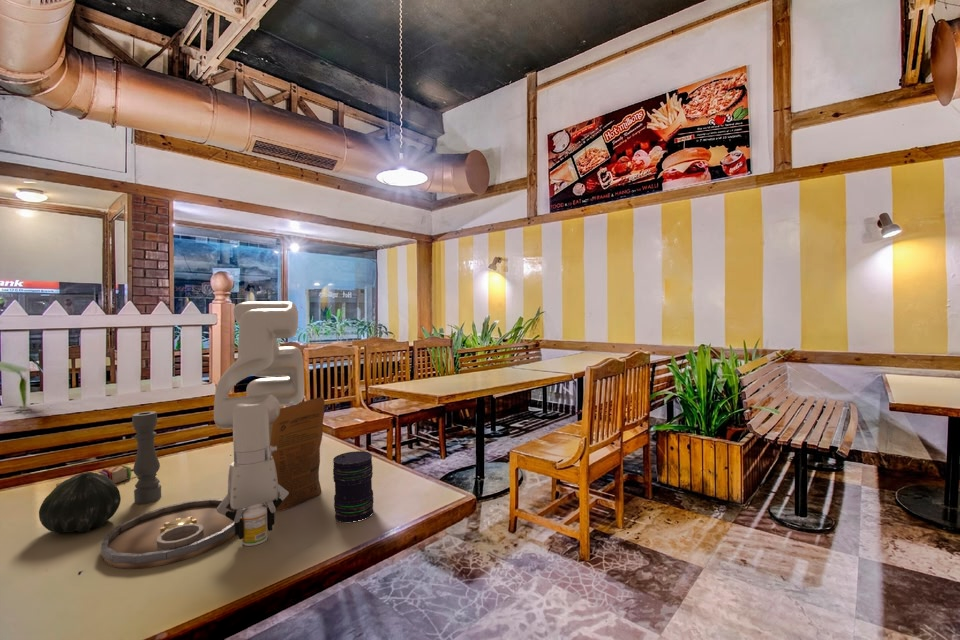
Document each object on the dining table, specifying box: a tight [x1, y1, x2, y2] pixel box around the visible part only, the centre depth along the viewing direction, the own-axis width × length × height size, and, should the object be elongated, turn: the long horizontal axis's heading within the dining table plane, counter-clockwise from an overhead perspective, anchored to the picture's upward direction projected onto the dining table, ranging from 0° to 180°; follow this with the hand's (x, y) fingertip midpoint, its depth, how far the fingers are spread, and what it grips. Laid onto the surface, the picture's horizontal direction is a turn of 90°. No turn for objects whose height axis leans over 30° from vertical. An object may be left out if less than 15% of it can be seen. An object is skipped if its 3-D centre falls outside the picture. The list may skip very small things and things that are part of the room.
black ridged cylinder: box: [332, 450, 375, 523], centre depth 114 cm, size 10×10×15 cm
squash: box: [38, 471, 122, 534], centre depth 111 cm, size 14×15×15 cm
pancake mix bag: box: [270, 396, 325, 511], centre depth 123 cm, size 7×19×28 cm, turn 148°
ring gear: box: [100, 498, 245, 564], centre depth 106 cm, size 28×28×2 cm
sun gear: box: [160, 517, 197, 534], centre depth 106 cm, size 7×7×2 cm
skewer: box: [55, 465, 134, 488], centre depth 139 cm, size 21×6×5 cm, turn 151°
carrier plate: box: [102, 506, 236, 570], centre depth 106 cm, size 28×28×4 cm
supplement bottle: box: [241, 503, 269, 547], centre depth 102 cm, size 5×5×10 cm
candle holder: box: [131, 410, 162, 505], centre depth 127 cm, size 6×6×25 cm
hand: (255, 531), depth 102 cm, fingers closed on supplement bottle, 5 cm apart
